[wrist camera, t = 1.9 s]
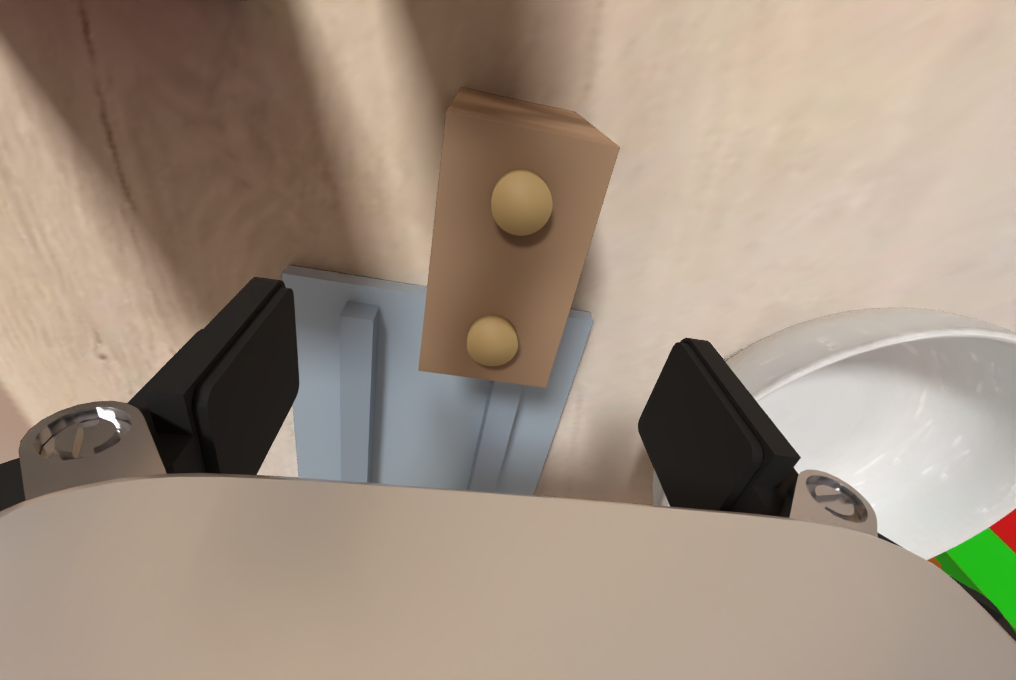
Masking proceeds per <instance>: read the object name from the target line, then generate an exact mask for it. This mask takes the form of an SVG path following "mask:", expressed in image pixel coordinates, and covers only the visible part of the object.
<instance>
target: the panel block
mask: <svg viewBox="0 0 1016 680" xmlns="http://www.w3.org/2000/svg"><path fill="white" fill-rule="evenodd" d="M619 149H620V147H619V146H618V145H617V144H615V143H614V142H613V141H611V140H610V139H609V138H608V137H606V136H605V135H604V134H603V133H601V132H600V131H599V130H598V129H596V128H595V127H594V126H593V125H591V124H590V123H589V122H588V121H586V120H585V119H584V118H582V117H581V116H580V115H579V114H577V113H576V112H573V111H568V110H563V109H559V108H554V107H550V106H545V105H540V104H536V103H531V102H527V101H522V100H517V99H513V98H508V97H504V96H499V95H494V94H490V93H485V92H481V91H476V90H471V89H467V88H462V87H461V89H460V90H459V92H458V93H457V95H456V96H455V98H454V100H453V101H452V103H451V104H450V106H449V107H448V109H447V111H446V118H445V128H444V137H443V146H442V155H441V164H440V174H439V183H438V192H437V201H436V211H435V220H434V229H433V238H432V247H431V257H430V266H429V275H428V284H427V294H426V303H425V312H424V321H423V330H422V340H421V349H420V358H419V367H418V371H423V372H431V373H438V374H446V375H454V376H461V377H469V378H477V379H484V380H492V381H499V382H507V383H515V384H522V385H530V386H538V387H545V388H546V386H547V383H548V380H549V376H550V373H551V370H552V367H553V363H554V360H555V357H556V354H557V350H558V347H559V344H560V341H561V337H562V334H563V331H564V328H565V324H566V321H567V318H568V315H569V311H570V308H571V305H572V302H573V298H574V295H575V292H576V289H577V285H578V282H579V279H580V276H581V272H582V269H583V266H584V263H585V259H586V256H587V253H588V250H589V246H590V243H591V240H592V237H593V233H594V230H595V227H596V224H597V220H598V217H599V214H600V211H601V207H602V204H603V201H604V198H605V194H606V191H607V188H608V185H609V181H610V178H611V175H612V172H613V168H614V165H615V162H616V159H617V155H618V152H619Z"/></svg>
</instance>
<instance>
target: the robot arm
mask: <svg viewBox="0 0 1016 680" xmlns="http://www.w3.org/2000/svg"><path fill="white" fill-rule="evenodd" d="M298 390H299V367H298V352H297V336H296V321H295V305H294V293H293V290H292V289H291V288H286V287H285V284H284V282H283V281H280V280H273V279H266V278H259V277H254V278H253V279H251V280H250V281H249V283H248V284H247V285H246V286H245V287H244V288H243V289H242V290H241V291H240V292H239V293H238V294H237V295H236V296H235V297H234V298H233V299H232V300H231V301H230V302H229V303H228V304H227V305H226V306H225V307H224V308H223V309H222V310H221V311H220V312H219V313H218V315H217V316H216V317H215V318H214V319H213V320H212V321H211V322H210V323H209V324H208V325H207V326H206V327H205V328H204V329H201V330H200V331H198V332H197V333H196V334H195V335H194V336H193V337H192V338H191V339H190V340H189V341H188V342H187V343H186V344H185V345H184V346H183V347H182V348H181V349H180V350H179V351H178V352H177V353H176V354H175V355H174V356H173V357H172V358H171V359H170V360H169V361H168V362H167V363H166V364H165V365H164V366H163V367H162V368H161V369H160V370H159V371H158V373H157V374H156V375H155V376H154V377H153V378H152V379H151V380H150V381H149V382H148V383H147V384H146V385H145V386H144V387H143V388H142V389H141V390H140V391H139V392H138V393H137V394H136V395H135V396H134V397H133V398H132V399H131V400H130V401H129V402H128V403H122V402H116V401H99V402H91V403H86V404H80V405H76V406H73V407H70V408H67V409H64V410H61V411H58V412H57V413H55V414H53V415H51V416H49V417H47V418H45V419H43V420H41V421H40V422H39V423H37V424H36V425H35V426H33V427H32V428H31V429H29V430H28V432H27V433H26V434H25V436H24V437H23V438H22V440H21V442H20V447H19V457H20V458H18V459H14V460H11V461H8V462H5V463H2V464H0V680H1016V632H1015V631H1014V630H1013V628H1012V627H1011V625H1010V624H1009V622H1008V621H1007V620H1006V619H1005V618H1004V616H1003V614H1002V613H1001V612H1000V610H999V609H998V608H997V607H996V606H995V605H994V604H993V603H992V602H991V601H990V600H989V599H988V598H986V597H985V596H984V595H982V594H981V593H979V592H978V591H976V590H974V589H972V588H969V587H968V586H966V585H964V584H963V583H961V582H959V581H958V580H956V579H954V578H953V577H951V576H949V575H948V574H947V573H945V572H944V571H943V570H941V569H940V568H939V567H937V566H936V565H934V564H933V563H931V562H929V561H927V560H925V559H923V558H922V557H920V556H918V555H916V554H914V553H912V552H910V551H908V550H906V549H905V548H903V547H901V546H900V545H898V544H896V543H895V542H893V541H891V540H890V539H888V538H886V537H885V536H883V535H881V534H880V533H878V532H877V518H876V514H875V511H874V510H873V508H872V507H871V505H870V503H869V502H868V501H867V500H866V499H865V498H864V497H863V496H862V495H861V494H860V493H859V492H858V491H857V490H855V489H854V488H853V487H852V486H850V485H849V484H847V483H846V482H844V481H843V480H841V479H839V478H838V477H835V476H833V475H831V474H829V473H826V472H822V471H819V470H805V471H802V472H800V474H798V473H797V471H796V470H795V469H794V466H795V465H796V464H797V462H798V461H799V460H800V458H801V457H800V456H799V454H798V453H797V452H796V451H795V449H794V448H793V447H792V446H791V444H790V443H789V442H788V440H787V439H786V438H785V437H784V435H783V434H782V433H781V432H780V430H779V429H778V428H777V427H776V425H775V424H774V423H773V421H772V420H771V419H770V418H769V416H768V415H767V414H766V413H765V411H764V410H763V409H762V408H761V406H760V405H759V404H758V403H757V401H756V400H755V399H754V397H753V396H752V395H751V394H750V392H749V391H748V390H747V389H746V387H745V386H744V385H743V384H742V382H741V381H740V380H739V379H738V377H737V376H736V375H735V373H734V372H733V371H732V370H731V368H730V367H729V366H728V365H727V363H726V362H725V361H724V360H723V358H722V357H721V356H720V354H719V353H718V352H717V351H716V349H715V348H714V347H713V346H712V344H711V343H710V342H709V341H705V340H698V339H691V338H685V339H683V340H682V341H681V342H678V343H676V344H675V345H674V346H673V348H672V350H671V352H670V354H669V356H668V359H667V361H666V363H665V365H664V367H663V369H662V372H661V374H660V376H659V378H658V380H657V382H656V384H655V387H654V389H653V391H652V393H651V395H650V397H649V400H648V402H647V404H646V406H645V408H644V410H643V412H642V415H641V417H640V419H639V423H638V430H639V434H640V436H641V439H642V441H643V443H644V446H645V448H646V451H647V453H648V455H649V458H650V460H651V462H652V465H653V467H654V470H655V472H656V474H657V477H658V479H659V481H660V484H661V486H662V489H663V491H664V493H665V496H666V498H667V500H668V503H669V505H670V506H658V505H646V504H635V503H623V502H611V501H599V500H587V499H574V498H562V497H549V496H537V495H524V494H512V493H499V492H486V491H473V490H460V489H447V488H433V487H420V486H406V485H393V484H379V483H366V482H352V481H338V480H325V479H311V478H297V477H283V476H264V475H257V473H258V471H259V469H260V467H261V465H262V463H263V461H264V459H265V457H266V455H267V453H268V451H269V449H270V447H271V445H272V443H273V441H274V440H275V438H276V436H277V434H278V432H279V430H280V428H281V426H282V424H283V422H284V420H285V418H286V416H287V414H288V412H289V410H290V408H291V407H292V405H293V403H294V401H295V399H296V397H297V394H298Z"/></svg>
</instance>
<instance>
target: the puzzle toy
mask: <svg viewBox="0 0 1016 680" xmlns="http://www.w3.org/2000/svg"><path fill="white" fill-rule="evenodd" d="M927 561H929V562H931V563H933V564H934V565H936V566H937V567H939V568H940V569H941V570H943V571H944V572H945V573H947V574H948V575H949V576H951V577H953V578H954V579H956V580H958V581H959V582H961V583H963V584H964V585H966V586H968V587H969V588H972V589H974V590H976V591H978V592H979V593H981V594H982V595H984V596H985V597H986V598H988V599H989V600H990V601H991V602H992V603H993V604H994V605H995V606H996V607H997V608H998V609H999V610H1000V612H1001V613H1002V614H1003V616H1004V618H1005V619H1006V620H1007V621H1008V622H1009V624H1010V625H1011V627H1012V628H1013V630H1014V631H1015V632H1016V508H1015V509H1014V510H1013V511H1012V512H1010V513H1009V514H1007V515H1006V516H1005V517H1003V518H1002V519H1000V520H999V521H997V522H996V523H994V524H993V525H992V526H990V527H989V528H987V529H985V530H984V531H982V532H980V533H979V534H977V535H975V536H974V537H972V538H970V539H968V540H967V541H965V542H963V543H961V544H959V545H958V546H956V547H953V548H951V549H949V550H947V551H945V552H943V553H941V554H939V555H937V556H935V557H933V558H931V559H929V560H927Z"/></svg>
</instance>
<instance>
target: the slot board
mask: <svg viewBox="0 0 1016 680" xmlns="http://www.w3.org/2000/svg"><path fill="white" fill-rule="evenodd" d="M282 281H283V282H284V284H285V287H286V288H291V289H292V290H293V293H294V305H295V321H296V336H297V352H298V367H299V390H298V394H297V397H296V399H295V401H294V403H293V416H294V428H295V440H296V452H297V464H298V476H299V478H311V479H325V480H338V481H352V482H366V483H379V484H393V485H406V486H420V487H433V488H447V489H460V490H473V491H486V492H499V493H512V494H524V495H534V492H535V489H536V487H537V484H538V481H539V478H540V475H541V472H542V469H543V466H544V463H545V460H546V458H547V455H548V452H549V449H550V446H551V443H552V440H553V437H554V434H555V432H556V429H557V426H558V423H559V420H560V417H561V414H562V411H563V408H564V405H565V403H566V400H567V397H568V394H569V391H570V388H571V385H572V382H573V379H574V377H575V374H576V371H577V368H578V365H579V362H580V359H581V356H582V353H583V350H584V348H585V345H586V342H587V339H588V336H589V333H590V330H591V327H592V324H593V322H594V321H593V319H592V316H591V313H590V312H585V311H579V310H573V309H570V311H569V315H568V318H567V321H566V324H565V328H564V331H563V334H562V337H561V341H560V344H559V347H558V350H557V354H556V357H555V360H554V363H553V367H552V370H551V373H550V376H549V380H548V383H547V386H546V388H545V387H538V386H530V385H522V384H515V383H507V382H499V381H492V380H484V379H477V378H469V377H461V376H454V375H446V374H438V373H431V372H423V371H418V367H419V358H420V349H421V340H422V330H423V321H424V312H425V303H426V294H427V287H426V286H420V285H413V284H407V283H400V282H394V281H388V280H381V279H375V278H369V277H362V276H356V275H349V274H343V273H337V272H330V271H324V270H317V269H311V268H305V267H298V266H292V265H289V266H288V267H287V268H286V269H285V270H284V271H283V272H282Z"/></svg>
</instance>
